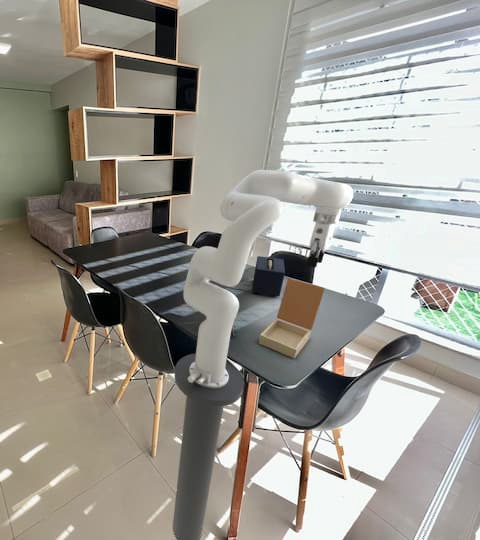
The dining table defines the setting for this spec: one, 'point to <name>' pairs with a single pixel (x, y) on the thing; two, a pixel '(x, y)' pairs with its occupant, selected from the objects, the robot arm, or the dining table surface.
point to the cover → (300, 303)
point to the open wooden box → (284, 338)
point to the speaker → (268, 276)
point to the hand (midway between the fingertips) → (314, 263)
